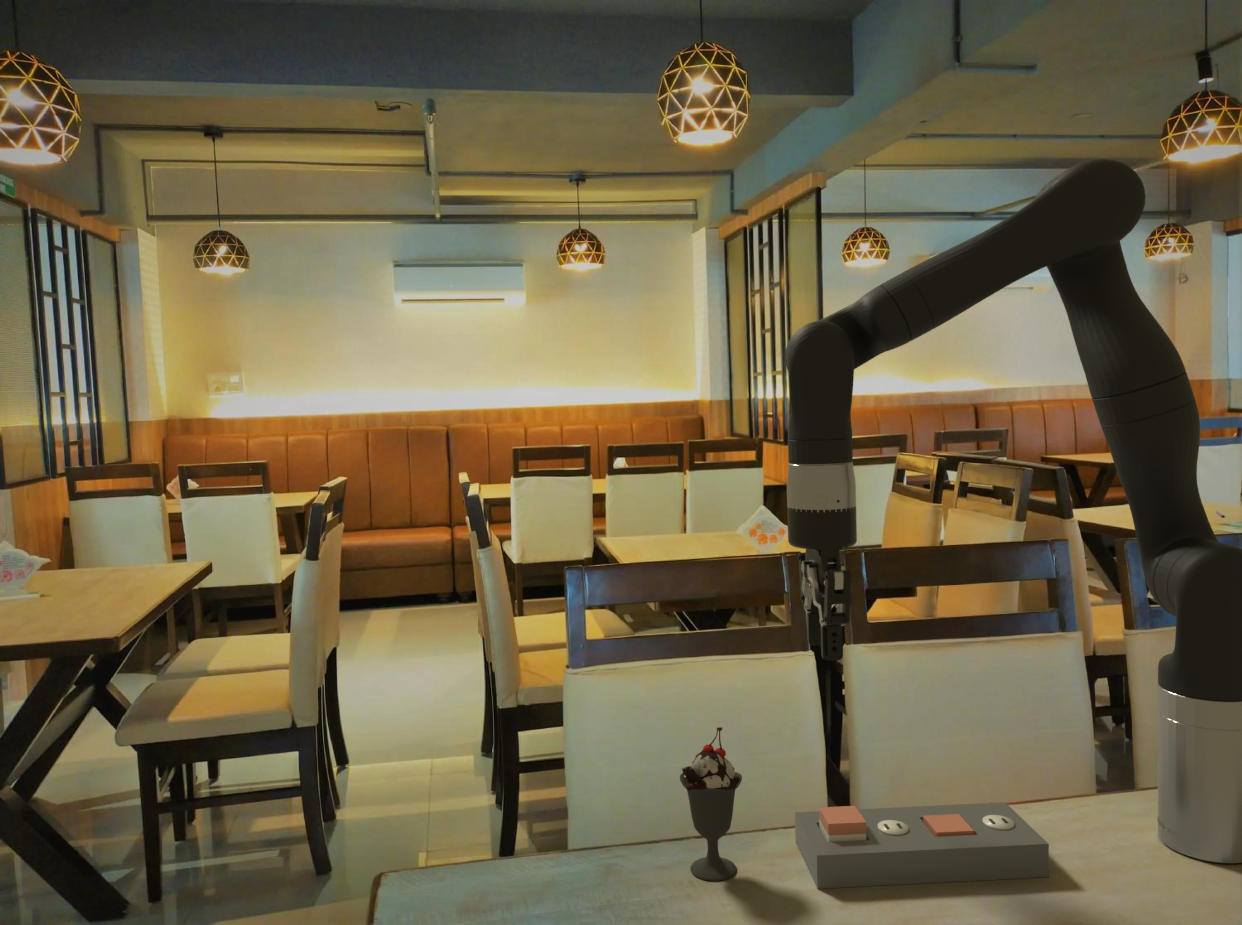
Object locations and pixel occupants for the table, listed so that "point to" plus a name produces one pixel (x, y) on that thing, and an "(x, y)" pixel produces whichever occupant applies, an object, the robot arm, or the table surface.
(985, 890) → the table surface
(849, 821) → the switch
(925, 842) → the power strip
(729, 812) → the sundae
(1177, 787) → the robot arm
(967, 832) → the switch
